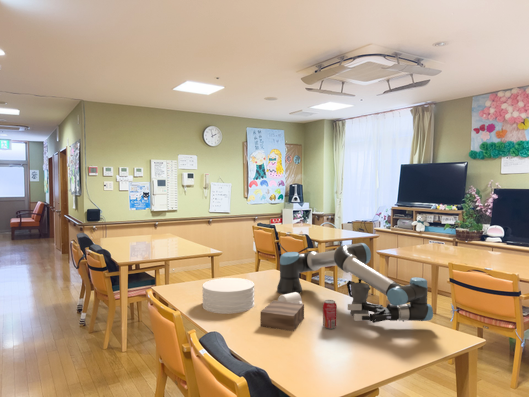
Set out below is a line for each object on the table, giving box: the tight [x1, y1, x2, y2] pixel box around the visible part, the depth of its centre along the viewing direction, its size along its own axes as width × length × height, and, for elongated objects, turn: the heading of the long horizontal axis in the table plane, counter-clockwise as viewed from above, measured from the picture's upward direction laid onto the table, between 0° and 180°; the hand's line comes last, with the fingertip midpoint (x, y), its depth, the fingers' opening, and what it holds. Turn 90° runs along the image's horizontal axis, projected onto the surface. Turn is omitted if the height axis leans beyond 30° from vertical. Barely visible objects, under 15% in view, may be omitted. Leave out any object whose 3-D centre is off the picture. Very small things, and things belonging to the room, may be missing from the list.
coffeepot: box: [346, 278, 372, 317], centre depth 195 cm, size 15×9×18 cm, turn 33°
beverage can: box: [322, 299, 338, 330], centre depth 177 cm, size 6×6×12 cm
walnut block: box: [259, 300, 305, 332], centre depth 183 cm, size 18×16×7 cm
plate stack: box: [202, 277, 255, 315], centre depth 209 cm, size 28×28×12 cm
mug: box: [277, 292, 303, 304], centre depth 201 cm, size 12×10×8 cm
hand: (350, 311), depth 177 cm, fingers open, 13 cm apart
